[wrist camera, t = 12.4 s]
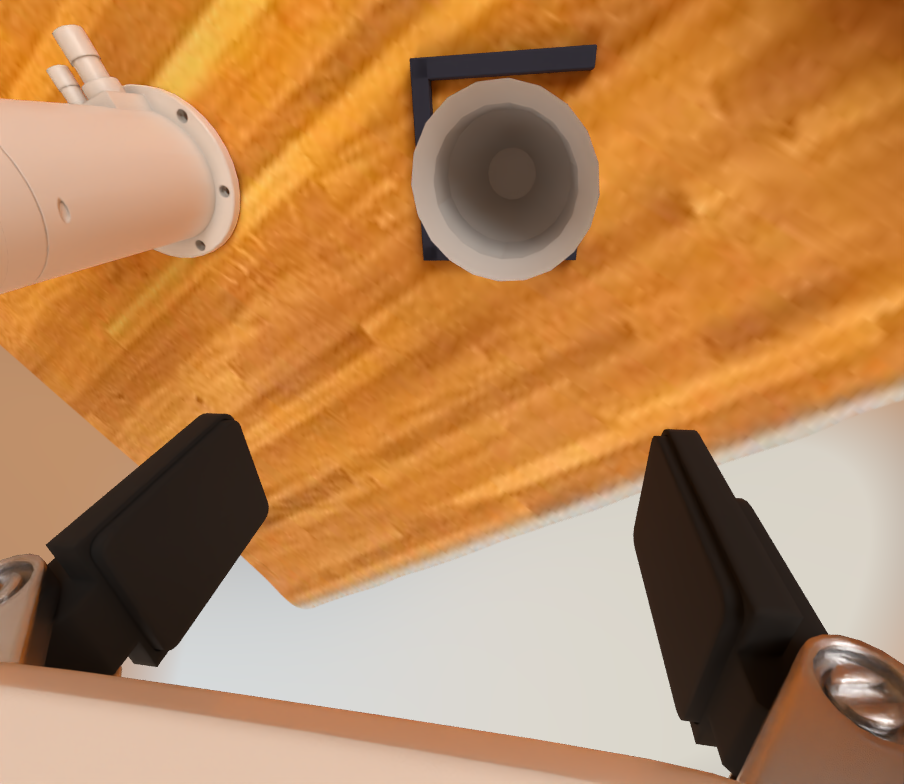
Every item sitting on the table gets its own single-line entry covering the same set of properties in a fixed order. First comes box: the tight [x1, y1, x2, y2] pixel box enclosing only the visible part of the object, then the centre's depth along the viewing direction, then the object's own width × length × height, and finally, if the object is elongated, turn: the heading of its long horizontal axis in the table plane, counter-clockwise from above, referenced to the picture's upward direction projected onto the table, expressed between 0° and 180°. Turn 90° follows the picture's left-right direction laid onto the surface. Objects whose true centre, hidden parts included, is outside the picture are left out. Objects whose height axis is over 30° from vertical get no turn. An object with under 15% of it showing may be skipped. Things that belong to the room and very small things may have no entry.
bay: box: [410, 45, 597, 260], centre depth 32 cm, size 12×13×1 cm
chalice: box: [411, 78, 599, 281], centre depth 24 cm, size 7×7×18 cm
